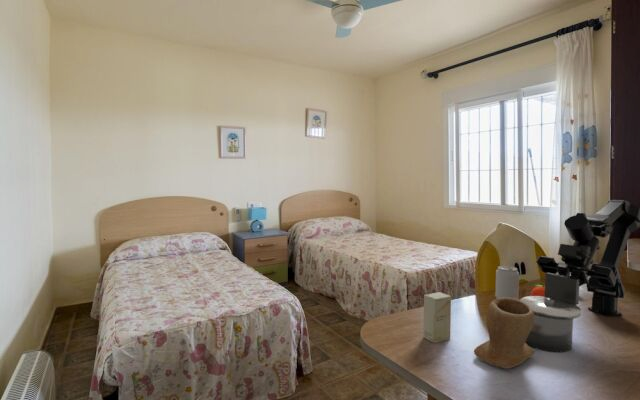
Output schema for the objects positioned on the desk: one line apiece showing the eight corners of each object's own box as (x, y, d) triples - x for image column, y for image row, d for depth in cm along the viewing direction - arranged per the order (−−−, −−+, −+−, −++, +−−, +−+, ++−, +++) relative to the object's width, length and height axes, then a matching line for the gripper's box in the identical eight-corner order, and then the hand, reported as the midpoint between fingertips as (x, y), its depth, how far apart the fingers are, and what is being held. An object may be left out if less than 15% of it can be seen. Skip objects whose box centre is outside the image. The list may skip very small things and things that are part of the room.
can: (522, 303, 124) (523, 270, 123) (501, 303, 124) (502, 270, 124) (511, 296, 132) (512, 264, 131) (491, 296, 132) (492, 264, 131)
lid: (536, 296, 106) (537, 270, 106) (591, 311, 94) (592, 281, 94) (509, 305, 99) (510, 277, 98) (564, 323, 87) (566, 290, 87)
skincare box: (434, 343, 94) (435, 299, 93) (422, 337, 98) (423, 294, 97) (451, 338, 97) (451, 295, 96) (438, 332, 101) (439, 291, 100)
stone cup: (515, 380, 77) (517, 313, 76) (466, 357, 87) (468, 298, 86) (549, 361, 85) (551, 300, 84) (501, 342, 95) (503, 287, 94)
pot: (508, 318, 111) (508, 294, 110) (581, 344, 93) (582, 314, 93) (482, 328, 104) (483, 301, 103) (556, 357, 87) (557, 325, 86)
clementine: (523, 303, 124) (524, 283, 124) (534, 299, 128) (535, 280, 127) (547, 310, 117) (548, 289, 117) (558, 306, 121) (559, 286, 121)
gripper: (540, 230, 110) (519, 269, 105) (614, 238, 94) (593, 285, 89) (552, 252, 115) (533, 291, 110) (624, 263, 99) (605, 309, 94)
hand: (563, 293), depth 100 cm, fingers closed, pressing on lid
